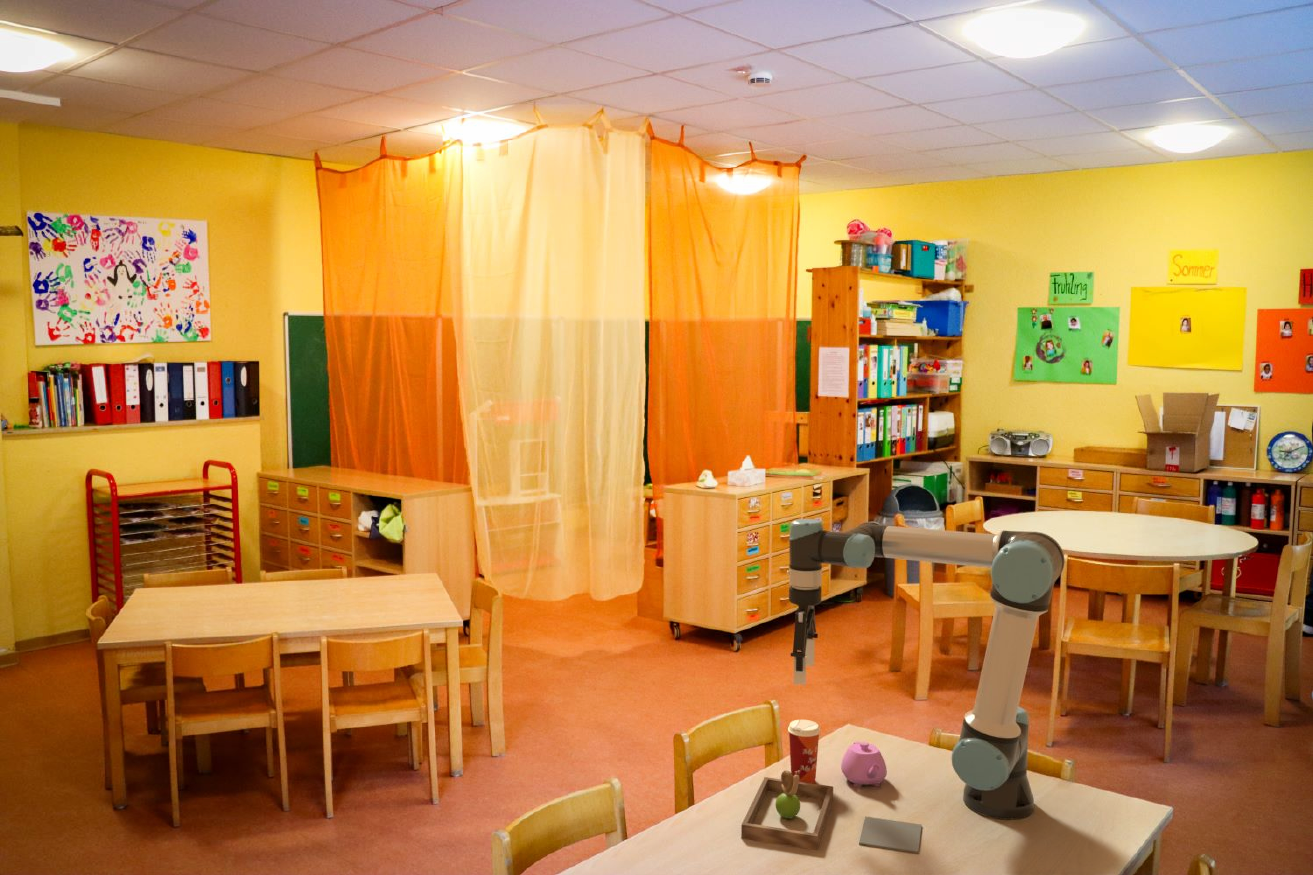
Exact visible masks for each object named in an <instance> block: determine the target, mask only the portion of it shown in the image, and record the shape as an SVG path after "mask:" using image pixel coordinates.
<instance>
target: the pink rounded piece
mask: <svg viewBox="0 0 1313 875" xmlns="http://www.w3.org/2000/svg"><path fill="white" fill-rule="evenodd" d="M840 767H841V768H840V769H841V772H842V774H843V776H844V777H845V778H846V779H847V781H849V782H851V783H853V787H855V788H861V787H862V786H863V785H872V786H874V787H880V786H881V784H880V783H881V782H883V781H884V779H885V778H886V777H887V774H888V771H887V765H886V760H885V759H884V756H883V755H882V752H881V751H880V749H879V748H878V747H877V746H876V745H874V744H872V743H869V742H867V741H861V742H860V741H859V740H858V741H854V742H853V744H851V745H849V746H848V748H847V749H846V751H845V753H844V755H843V757H842V759H841V765H840Z"/></svg>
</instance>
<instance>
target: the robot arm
mask: <svg viewBox="0 0 1313 875" xmlns="http://www.w3.org/2000/svg"><path fill="white" fill-rule="evenodd" d="M788 542H789V548H788V549H789V551H788V552H789V569H788V570H787V571H786V575H788V576H789V577H788V578H789V580H788V581H789V582H788V584H790V586H789V587H788V601H789V603H791V604H793V605H796V606H798V607H797V608H796V609H797V610H795V614H794V618H795V619H794V620H795V621H794V633H793V634H794V635H793V644H792V645H793V647H792V652H790V657H791V658H792V657H793V685H802V686H803V685H804V686H805V685H807V666H808V667H815V647H816V646H815V641H816V640H815V639H818V638H819V637H818V636H819V635H818V633H817V629H816V627H817V626H816V615H815V614H816V612H815V606H817V605H819V604H821V603H822V587H821V586H822V584H823V581H822V580H823V567H822V565H823V564H827V565H833V566H834V565H835V566H842V567H847V568H849V567H850V568H852V569H857V568H858V569H861V568H862V569H866V568H869V567H871V565H872V563H873V562H874V559H875V558H885V559H898V560H906V561H907V560H908V561H917V562H925V563H937V564H946V565H954V566H955V565H958V566H965V567H977V568H986V569H990V577H991V578H990V579H991V581H992V583H991V584H992V585H991V588H990V594H989V597H990V599H991V601H992V602H993V604H994V606H995V607H994V612H993V615H992V616H993V617H992V622H991V625H990V630H989V635H988V640H987V644H986V649H985V654H984V659H983V663H982V667H981V673H980V676H979V682H978V687H977V691H976V696H975V701H974V706H973V709H971V710H969V711H967V712H965V714H964V716H963V722H962V725H961V730H960V733H959V734H960V735H959V739H958V741H957V743H955V745H954V746H953V749H952V753H951V764H952V767H953V771H954V772H955V774H957V776H958V778H959V779H960V780H961V781H962V782H963V783H964V784H965V785H964V787H963V794H962V795H963V799H962V800H963V802H964V804H965V806H966V807H968V808H969V809H970V810H971V811H974V812H976V813H977V814H980V815H982V816H986V817H989V818H993V819H994V818H995V819H1000V820H1019V819H1024V818H1027V817H1029V816H1031V815H1032V813H1034V808H1035V807H1034V806H1035V801H1034V796H1033V792H1032V788H1031V785H1030V782H1029V778H1028V773H1027V772H1028V750H1029V748H1028V747H1029V746H1028V745H1029V726H1030V718H1029V717H1030V716H1029V713H1028V712H1027V709H1024V708H1023V707H1021V706H1019V705H1020V702H1021V697H1022V693H1023V688H1024V683H1025V680H1026V675H1027V670H1028V665H1029V660H1030V656H1031V652H1032V646H1033V643H1034V640H1035V639H1034V638H1035V634H1036V629H1037V624H1038V620H1039V617H1040V616H1041V615H1043V614H1045V613H1047V612H1048V611H1049V606H1050V603H1051V599H1052V596H1053V590H1054V585H1055V582H1056V581H1057V580H1058V578H1060V576H1062V573H1063V570H1064V569H1065V562H1066V561H1065V560H1066V559H1065V555H1064V554H1065V553H1064V551H1063V548H1062V547H1061V545H1060V543H1059V542H1058V541H1057V540H1056V539H1054V538H1053V537H1052V536H1050V535H1048V534H1046V533H1043V532H1039V531H1024V530H1022V531H1017V530H1001V531H1000V532H999V533H997V534H995V533H993V534H992V533H985V532H984V533H983V532H981V533H980V532H968V531H956V530H943V529H931V528H920V527H919V528H918V527H907V526H893V525H882V523H879V522H877V521H868V522H867V521H866V522H863V523H860V524H858V525H857V526H855V527H853V528H851V529H849V530H846V531H844V532H840V531H832V530H831V531H829V530H824V527H823V523H822V521H820V520H817V519H813V518H800V519H799V518H798V519H795V520H793V521H792V522H791V523H790V525H789V538H788Z"/></svg>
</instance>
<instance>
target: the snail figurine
mask: <svg viewBox="0 0 1313 875" xmlns="http://www.w3.org/2000/svg"><path fill="white" fill-rule="evenodd" d="M795 773H796V775H794V777H793V775H792V774H791V771H789V770H783V771H782V773H781V775H780V779H781V781H782V785H781V787H782V790H783V791H784V793H782V794H780V793H779V795H778V796H777V798H776V800H775V808H776V811H777V813H778V814H779V816H781V817H782V818H784V819H793V818H795V817H796V816H797V815H798V814H799V812H800V810H801V802H800V799H799V796H796V795H795V794H796V792H797V789H798V783H799V779H800V778H799V776H798V775H797V773H800V771H799V770H798V772H797V771H795Z"/></svg>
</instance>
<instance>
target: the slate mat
mask: <svg viewBox="0 0 1313 875" xmlns="http://www.w3.org/2000/svg"><path fill="white" fill-rule="evenodd" d="M863 820H864V821H863V824H862V829H861V833H860V838H859V842H858V844H859V845H861V846H867V847H872V848H878V849H879V848H880V849H888V850H892V851H899V852H907V853H912V854H919V850H920V843H921V842H920V841H921V836H922V835H921V833H922V824H918V823H913V822H905V821H900V820H893V819H886V818H885V819H884V818H881V817H871V816H865V817H864V819H863Z"/></svg>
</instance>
